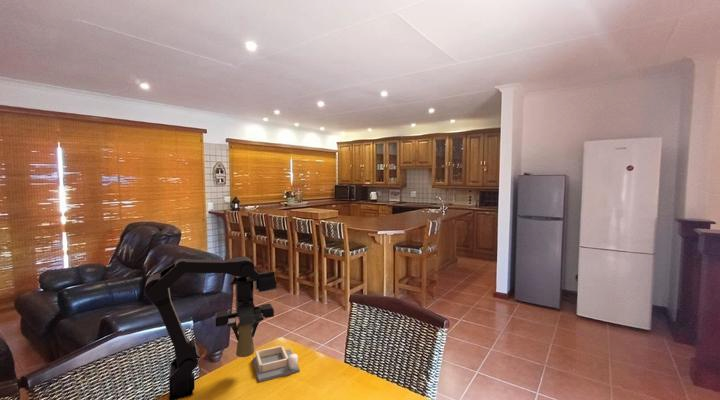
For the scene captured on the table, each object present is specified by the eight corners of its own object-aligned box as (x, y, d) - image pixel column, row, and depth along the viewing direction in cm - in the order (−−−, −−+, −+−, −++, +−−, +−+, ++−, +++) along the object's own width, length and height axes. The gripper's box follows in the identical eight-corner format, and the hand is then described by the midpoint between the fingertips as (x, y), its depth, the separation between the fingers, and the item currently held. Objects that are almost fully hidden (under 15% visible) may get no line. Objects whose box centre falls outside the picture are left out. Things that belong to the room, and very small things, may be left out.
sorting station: (258, 382, 108) (258, 368, 107) (252, 360, 120) (252, 347, 120) (299, 371, 114) (299, 358, 113) (290, 351, 126) (290, 339, 126)
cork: (250, 357, 108) (250, 326, 107) (233, 356, 108) (232, 325, 107) (257, 347, 114) (256, 317, 113) (240, 347, 114) (239, 317, 113)
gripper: (215, 308, 98) (216, 356, 99) (277, 298, 106) (277, 343, 108) (214, 295, 108) (215, 339, 109) (270, 287, 116) (271, 328, 118)
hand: (245, 338), depth 111 cm, fingers closed on cork, 5 cm apart
